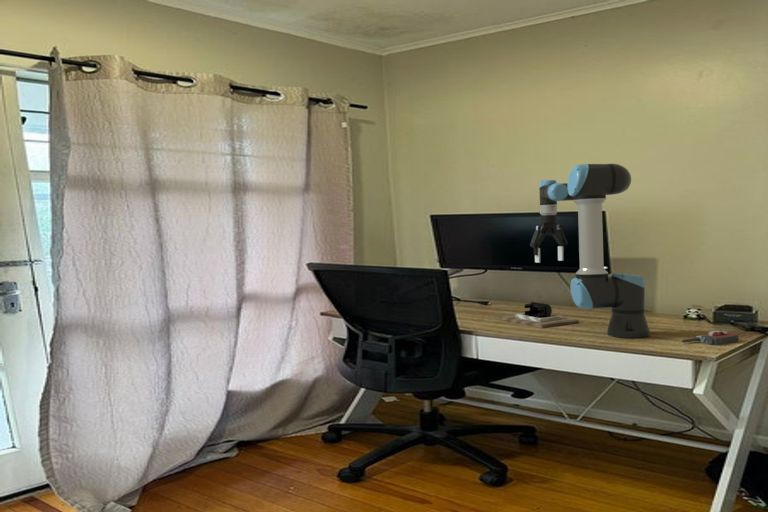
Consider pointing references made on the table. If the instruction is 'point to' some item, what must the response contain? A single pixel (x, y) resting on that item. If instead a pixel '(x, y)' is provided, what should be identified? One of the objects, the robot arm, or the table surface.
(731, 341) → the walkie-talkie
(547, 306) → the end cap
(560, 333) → the table surface
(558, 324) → the lens rest
